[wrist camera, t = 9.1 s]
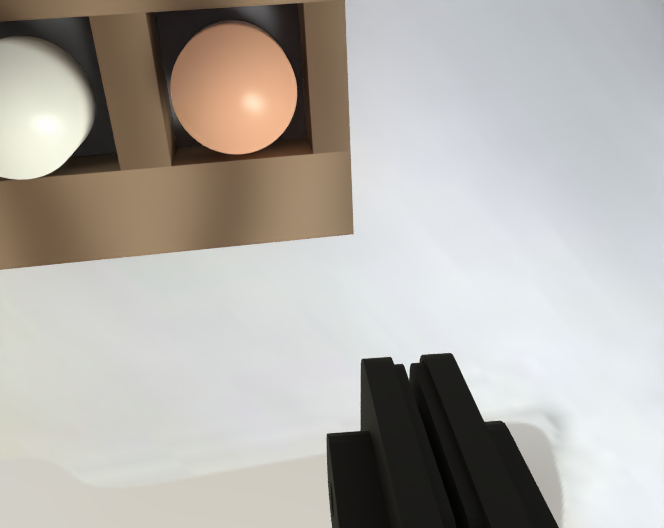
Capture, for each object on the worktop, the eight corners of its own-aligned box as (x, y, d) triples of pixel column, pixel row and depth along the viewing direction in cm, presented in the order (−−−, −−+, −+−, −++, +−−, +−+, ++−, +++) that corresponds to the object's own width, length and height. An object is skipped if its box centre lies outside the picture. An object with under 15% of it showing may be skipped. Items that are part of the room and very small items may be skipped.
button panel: (329, -109, 22) (340, -118, 19) (343, 211, 27) (353, 234, 25) (-365, -79, 19) (-444, -85, 17) (-201, 264, 25) (-245, 294, 22)
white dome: (81, 31, 21) (62, 39, 19) (107, 153, 23) (92, 173, 20) (-50, 39, 20) (-86, 48, 18) (-13, 163, 22) (-41, 185, 20)
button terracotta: (286, 16, 22) (292, 22, 20) (295, 132, 24) (301, 148, 22) (168, 24, 22) (160, 30, 20) (186, 140, 24) (180, 159, 21)
